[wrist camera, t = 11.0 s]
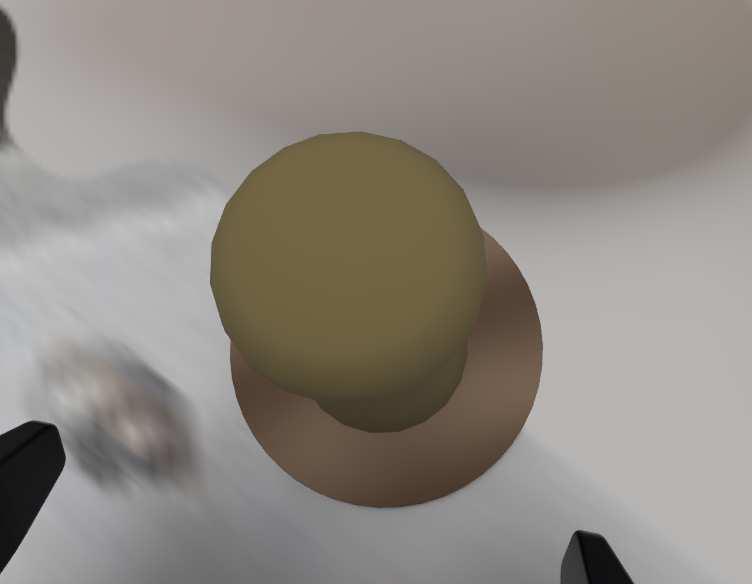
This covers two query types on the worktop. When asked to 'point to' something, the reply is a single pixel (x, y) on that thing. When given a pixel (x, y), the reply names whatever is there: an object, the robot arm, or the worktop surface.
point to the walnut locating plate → (426, 440)
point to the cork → (352, 277)
